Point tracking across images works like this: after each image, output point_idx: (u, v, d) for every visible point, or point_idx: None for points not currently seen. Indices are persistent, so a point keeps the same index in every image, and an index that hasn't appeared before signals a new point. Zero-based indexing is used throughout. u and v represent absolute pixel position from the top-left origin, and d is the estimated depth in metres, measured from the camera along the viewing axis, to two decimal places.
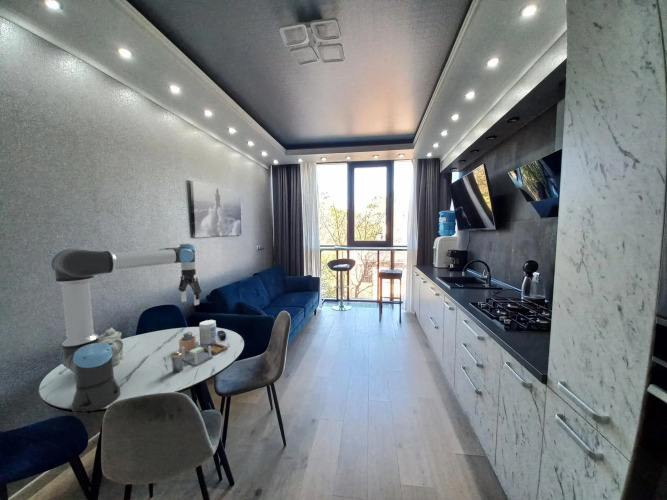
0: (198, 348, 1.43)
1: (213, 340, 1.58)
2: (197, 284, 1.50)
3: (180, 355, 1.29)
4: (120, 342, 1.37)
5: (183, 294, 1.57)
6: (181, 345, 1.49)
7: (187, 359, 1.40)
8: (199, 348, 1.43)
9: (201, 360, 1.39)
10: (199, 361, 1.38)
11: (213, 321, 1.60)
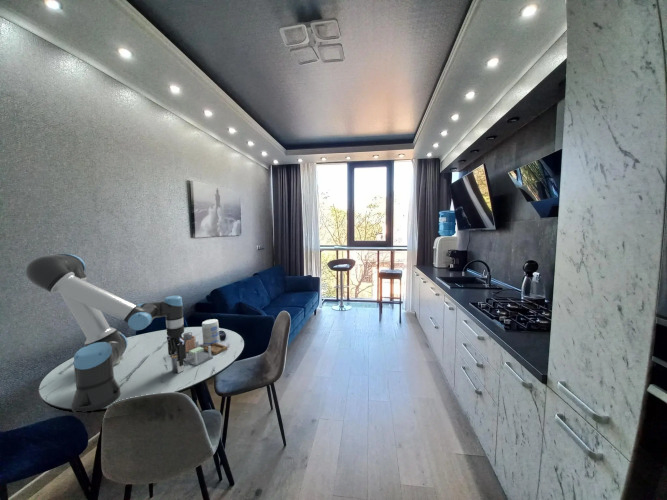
0: (198, 348, 1.43)
1: (214, 339, 1.58)
2: (183, 349, 1.27)
3: None
4: None
5: None
6: None
7: (187, 359, 1.40)
8: (199, 348, 1.43)
9: (201, 360, 1.39)
10: (199, 361, 1.38)
11: (215, 320, 1.62)
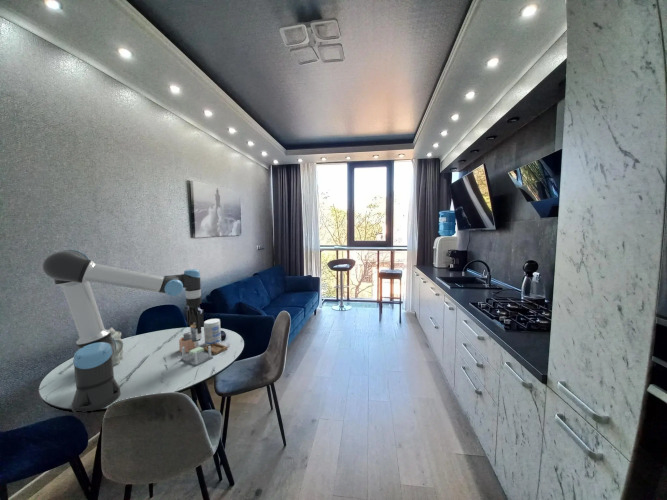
0: (198, 348, 1.43)
1: (215, 339, 1.59)
2: (201, 317, 1.37)
3: None
4: (120, 342, 1.37)
5: None
6: (181, 345, 1.49)
7: (187, 359, 1.40)
8: (199, 348, 1.43)
9: (201, 360, 1.39)
10: (199, 361, 1.38)
11: (217, 320, 1.62)
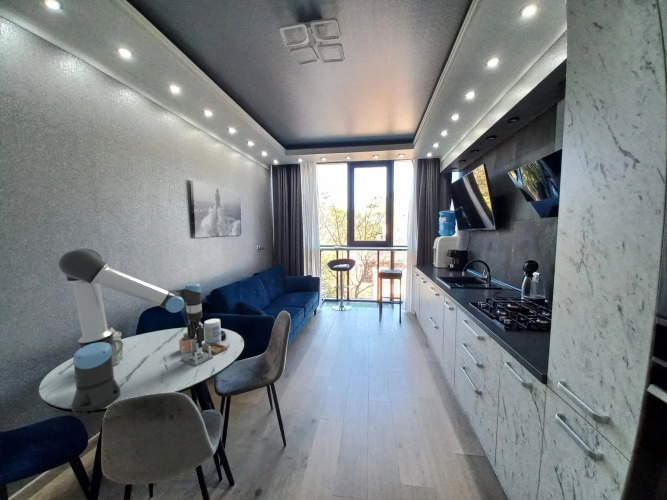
0: None
1: (215, 339, 1.59)
2: (202, 332, 1.38)
3: None
4: (120, 342, 1.37)
5: None
6: (181, 345, 1.49)
7: (187, 359, 1.40)
8: None
9: (201, 360, 1.39)
10: (199, 361, 1.38)
11: (217, 320, 1.62)
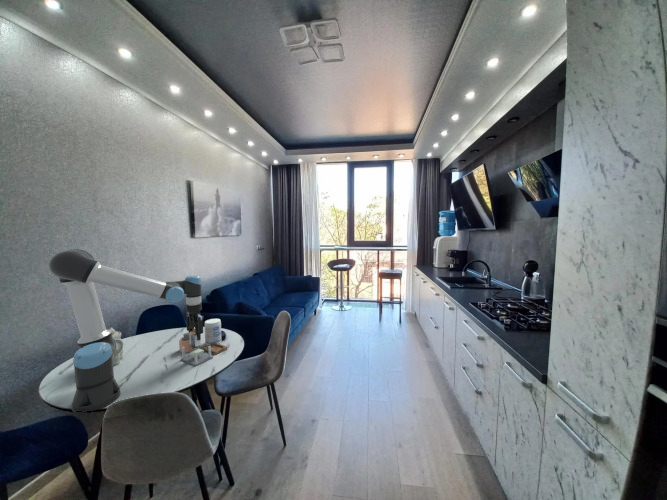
0: (198, 350, 1.43)
1: (215, 339, 1.59)
2: (201, 324, 1.38)
3: None
4: (120, 342, 1.37)
5: None
6: (181, 345, 1.49)
7: (187, 359, 1.40)
8: (199, 350, 1.43)
9: (201, 360, 1.39)
10: (199, 361, 1.38)
11: (218, 320, 1.62)
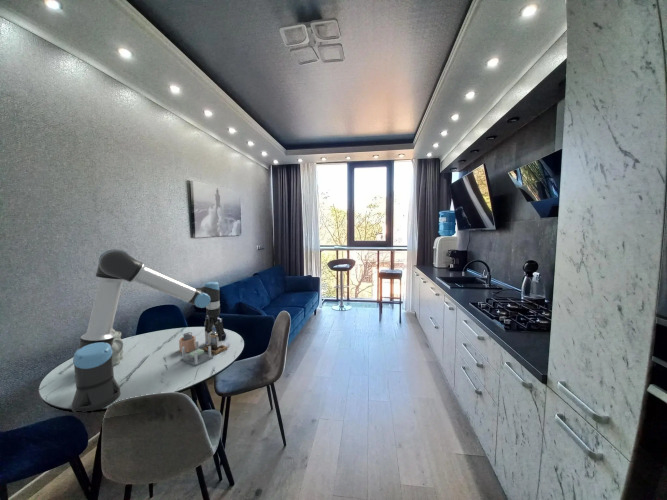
0: (198, 350, 1.43)
1: None
2: (221, 326, 1.48)
3: (217, 335, 1.52)
4: (120, 342, 1.37)
5: None
6: (181, 345, 1.49)
7: (187, 359, 1.40)
8: (199, 350, 1.43)
9: (201, 360, 1.39)
10: (199, 361, 1.38)
11: None
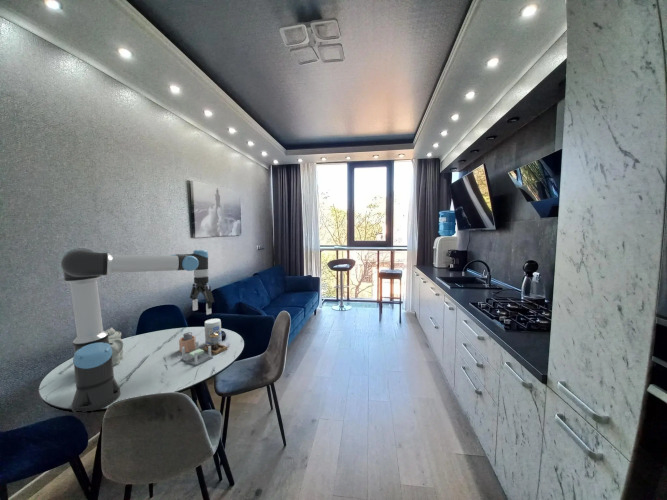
0: (198, 350, 1.43)
1: None
2: (210, 292, 1.44)
3: (217, 335, 1.52)
4: (120, 342, 1.37)
5: (194, 302, 1.51)
6: (181, 345, 1.49)
7: (187, 359, 1.40)
8: (199, 350, 1.43)
9: (201, 360, 1.39)
10: (199, 361, 1.38)
11: (218, 320, 1.62)
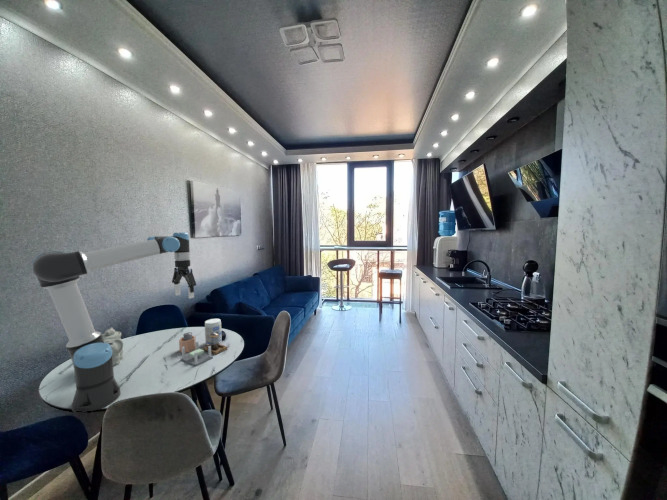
0: (198, 350, 1.43)
1: None
2: (192, 276, 1.39)
3: (217, 335, 1.52)
4: (120, 342, 1.37)
5: (177, 287, 1.46)
6: (181, 345, 1.49)
7: (187, 359, 1.40)
8: (199, 350, 1.43)
9: (201, 360, 1.39)
10: (199, 361, 1.38)
11: (218, 320, 1.62)
